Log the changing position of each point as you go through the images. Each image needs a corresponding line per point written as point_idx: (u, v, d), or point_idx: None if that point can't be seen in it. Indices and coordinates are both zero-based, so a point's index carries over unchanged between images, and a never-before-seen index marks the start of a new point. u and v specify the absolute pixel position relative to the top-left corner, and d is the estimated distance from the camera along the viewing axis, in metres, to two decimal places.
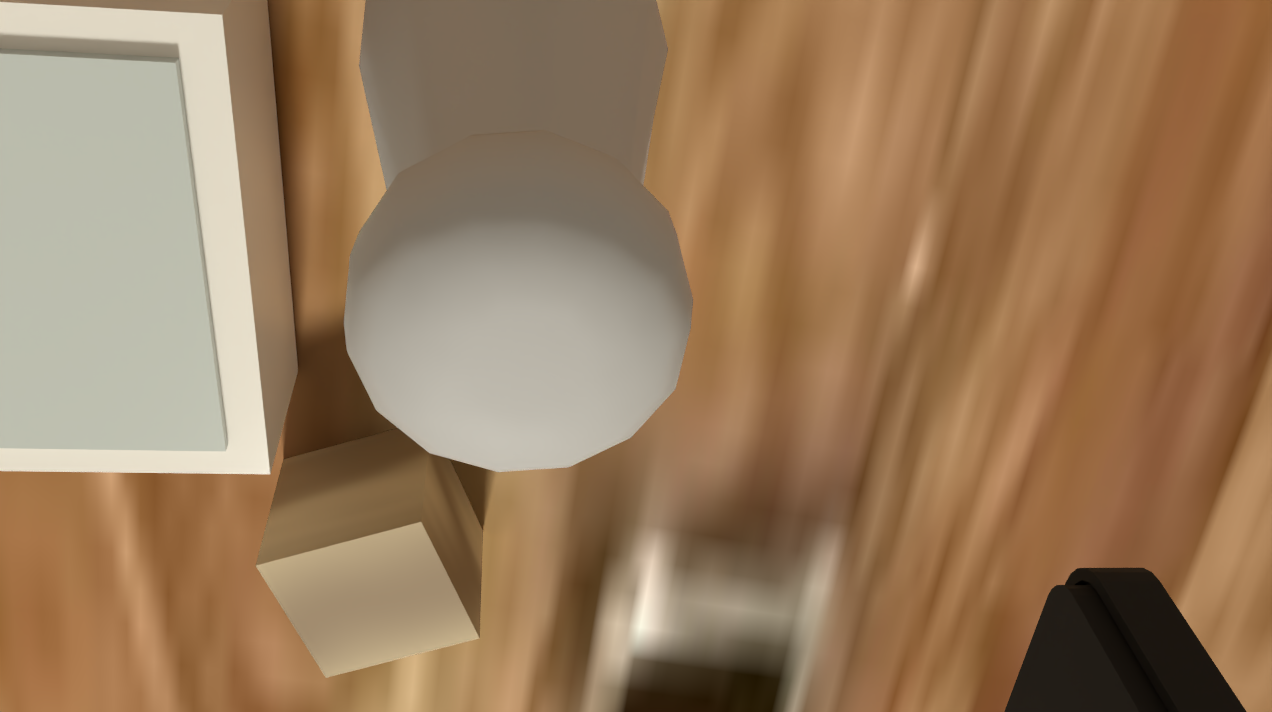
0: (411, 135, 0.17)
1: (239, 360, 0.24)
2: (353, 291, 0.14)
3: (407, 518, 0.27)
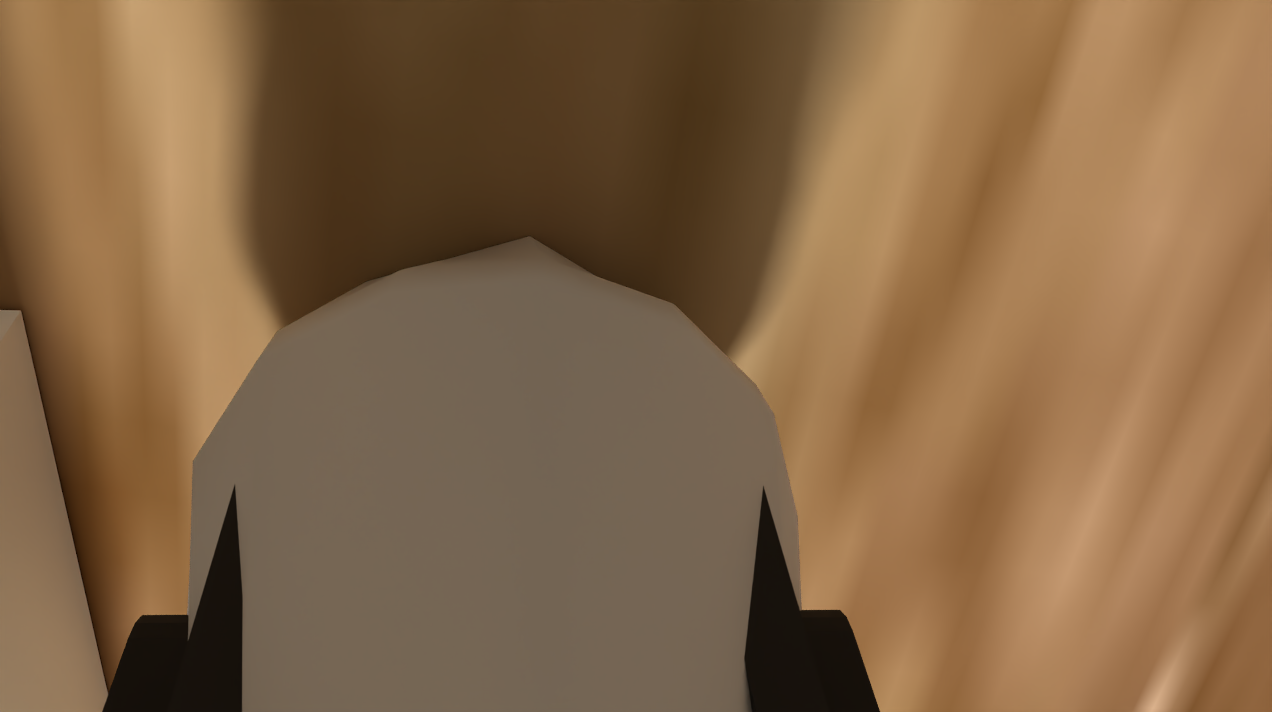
0: None
1: None
2: None
3: None
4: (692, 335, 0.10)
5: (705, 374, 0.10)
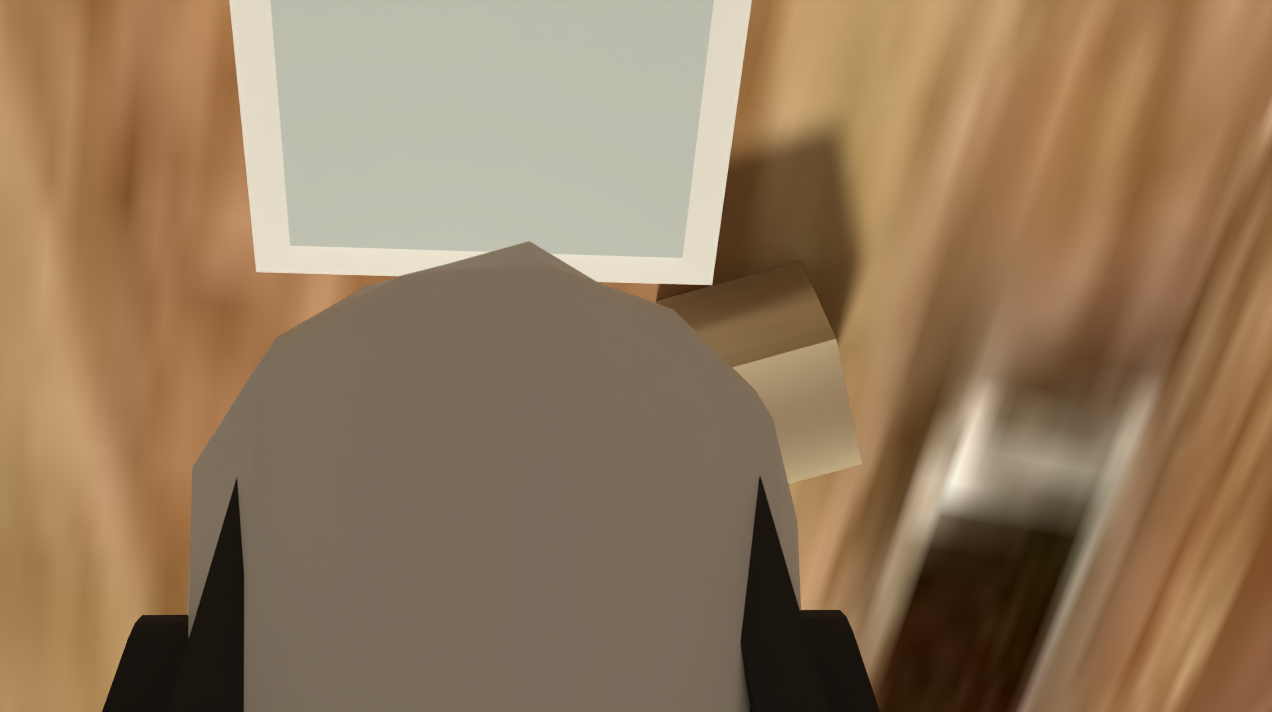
0: None
1: (711, 164, 0.25)
2: None
3: (820, 336, 0.28)
4: (692, 341, 0.10)
5: (704, 381, 0.10)
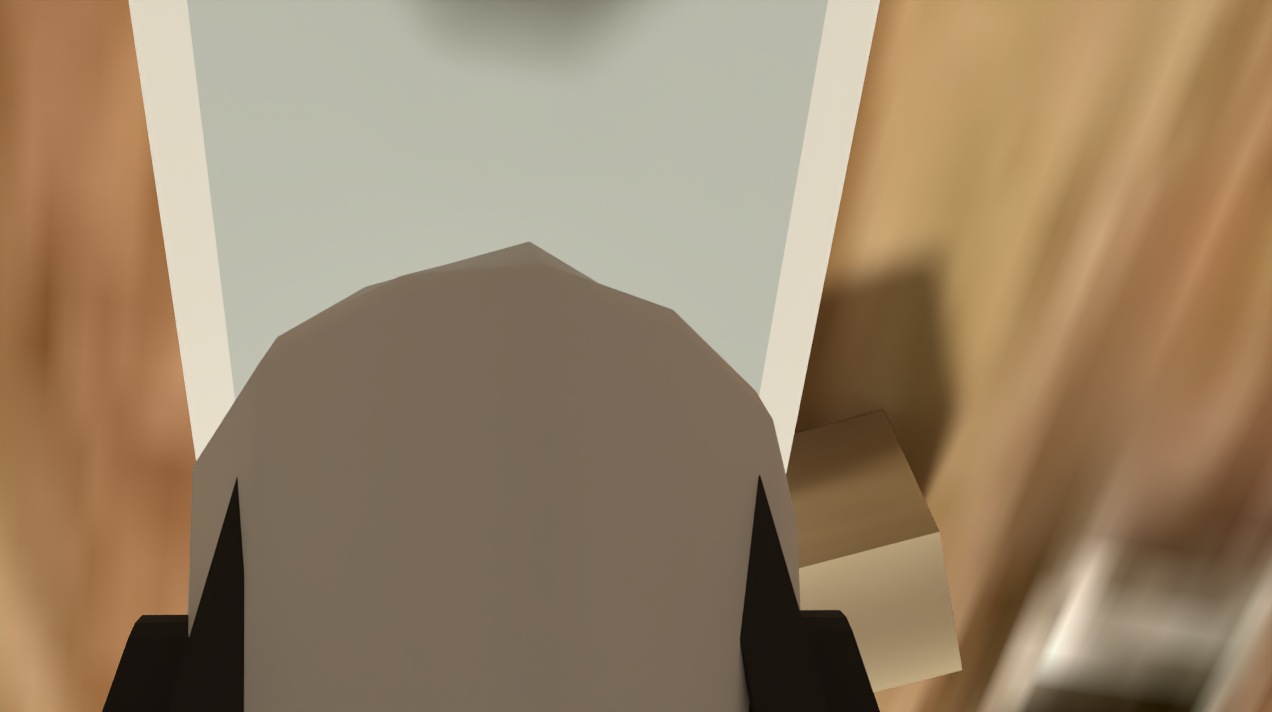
0: None
1: (791, 332, 0.19)
2: None
3: (918, 527, 0.22)
4: (691, 341, 0.10)
5: (704, 381, 0.10)
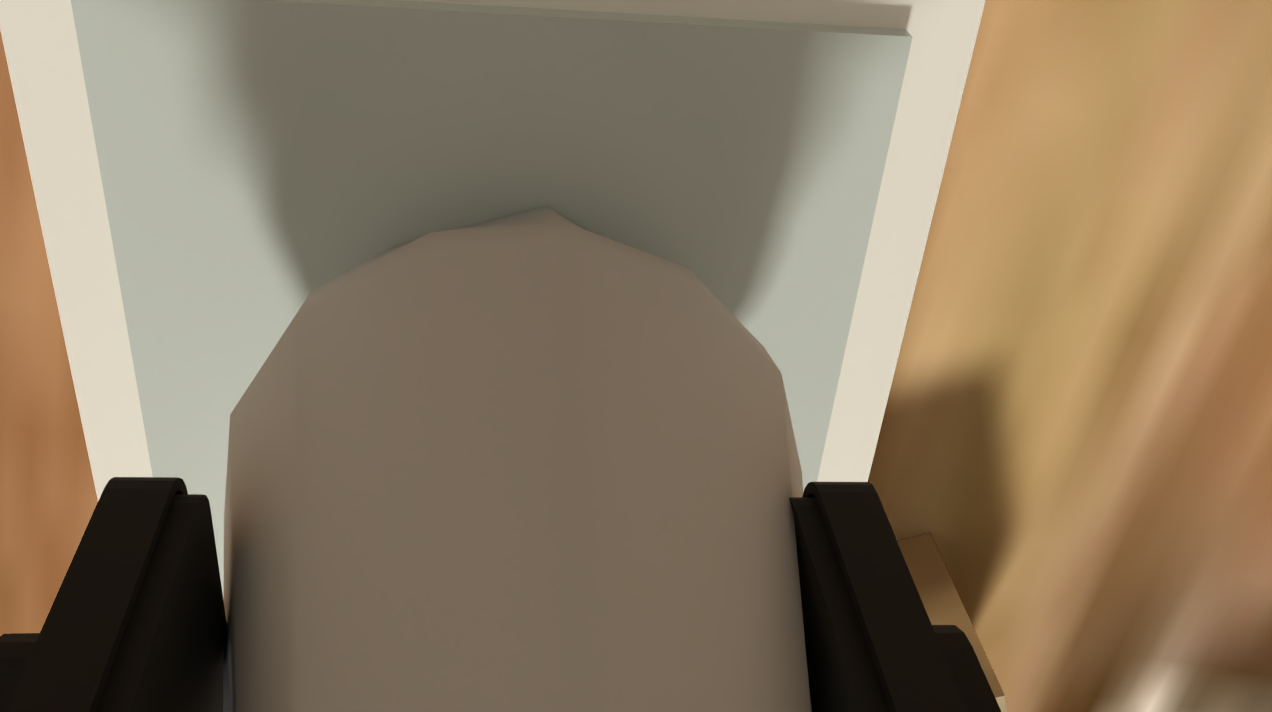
0: None
1: None
2: None
3: None
4: (706, 296, 0.11)
5: (718, 333, 0.11)
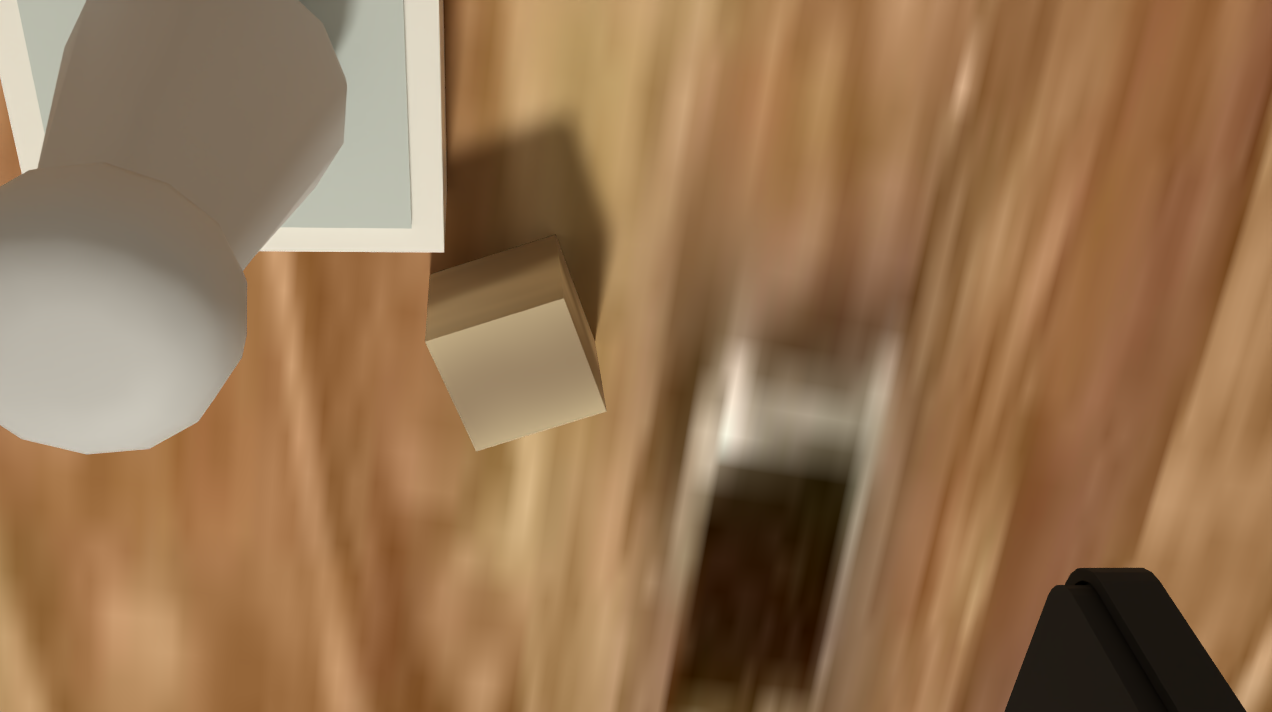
0: None
1: (426, 146, 0.29)
2: None
3: (551, 297, 0.32)
4: None
5: (279, 0, 0.24)
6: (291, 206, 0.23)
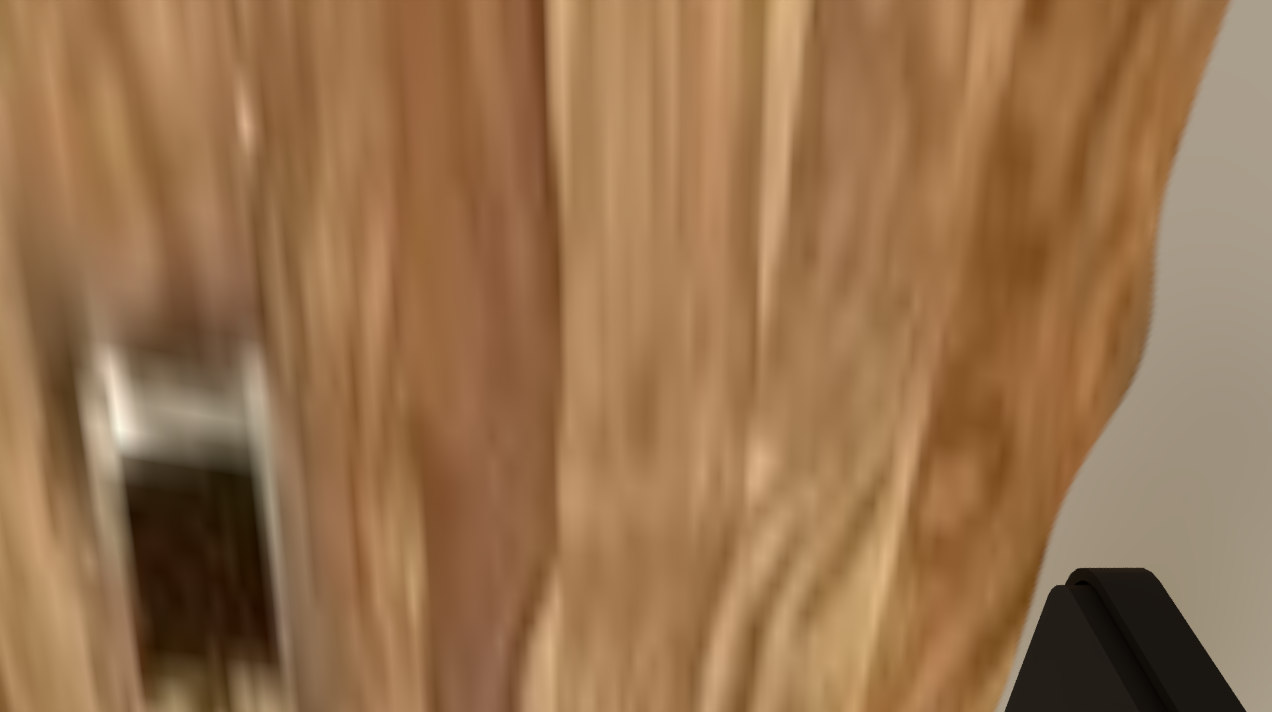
0: None
1: None
2: None
3: None
4: None
5: None
6: None
